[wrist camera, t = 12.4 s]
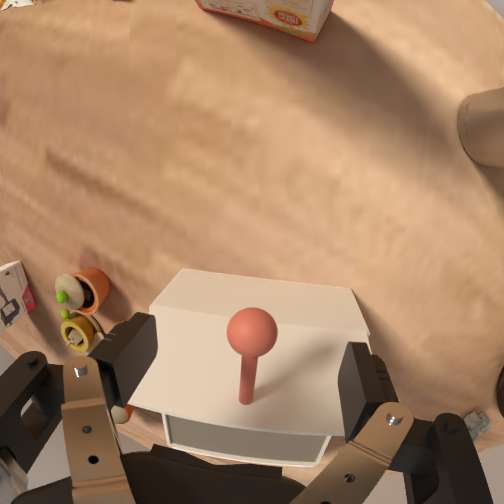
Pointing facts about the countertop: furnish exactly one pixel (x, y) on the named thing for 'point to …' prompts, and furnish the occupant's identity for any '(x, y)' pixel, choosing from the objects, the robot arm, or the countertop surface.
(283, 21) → the cracker box
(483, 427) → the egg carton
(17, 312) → the ink box
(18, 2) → the food tray
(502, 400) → the glass bottle
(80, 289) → the toy tea set
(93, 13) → the countertop surface
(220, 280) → the carton
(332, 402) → the flap
